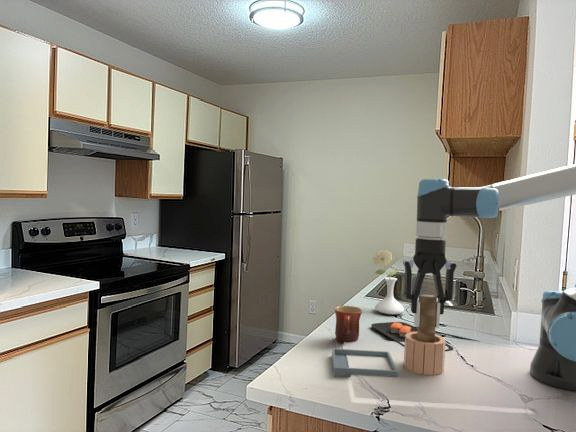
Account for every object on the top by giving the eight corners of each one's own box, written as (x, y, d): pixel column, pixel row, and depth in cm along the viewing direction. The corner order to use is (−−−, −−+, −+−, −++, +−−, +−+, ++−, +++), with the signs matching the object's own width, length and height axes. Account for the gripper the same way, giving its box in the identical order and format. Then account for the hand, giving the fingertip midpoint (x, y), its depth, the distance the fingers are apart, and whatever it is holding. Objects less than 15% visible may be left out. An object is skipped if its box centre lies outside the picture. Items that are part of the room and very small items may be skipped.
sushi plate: (367, 328, 155) (368, 318, 155) (439, 324, 165) (440, 313, 164) (415, 359, 128) (416, 346, 127) (499, 351, 137) (499, 339, 137)
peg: (431, 360, 120) (434, 294, 119) (435, 367, 115) (438, 298, 114) (414, 359, 120) (417, 294, 119) (418, 366, 115) (421, 298, 114)
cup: (437, 364, 122) (438, 332, 122) (448, 379, 112) (450, 345, 112) (400, 362, 123) (402, 330, 122) (408, 377, 113) (410, 343, 112)
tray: (388, 359, 125) (388, 351, 125) (397, 380, 111) (398, 371, 111) (331, 356, 126) (332, 348, 126) (334, 376, 112) (334, 367, 112)
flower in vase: (403, 310, 180) (406, 249, 178) (404, 318, 168) (407, 253, 167) (371, 307, 183) (373, 247, 181) (369, 314, 171) (372, 250, 170)
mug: (334, 335, 144) (335, 304, 144) (361, 338, 143) (362, 307, 142) (330, 347, 133) (331, 314, 132) (359, 351, 131) (361, 317, 130)
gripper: (459, 237, 119) (455, 323, 120) (394, 235, 120) (390, 320, 121) (469, 240, 112) (465, 331, 113) (399, 238, 113) (395, 328, 114)
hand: (426, 325), depth 117 cm, fingers closed on peg, 4 cm apart
